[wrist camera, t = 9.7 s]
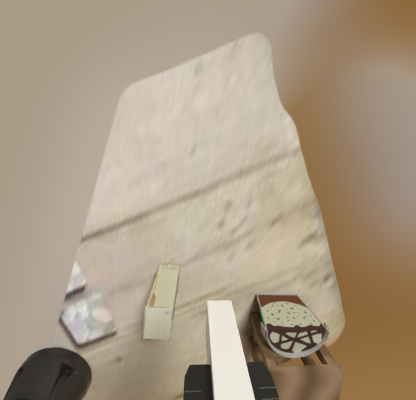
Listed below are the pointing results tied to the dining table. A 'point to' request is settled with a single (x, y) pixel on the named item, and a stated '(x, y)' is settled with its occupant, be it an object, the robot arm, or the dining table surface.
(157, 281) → the skincare box
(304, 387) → the small wooden bench
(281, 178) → the dining table surface
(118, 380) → the dining table surface
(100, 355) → the dining table surface
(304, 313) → the food container
